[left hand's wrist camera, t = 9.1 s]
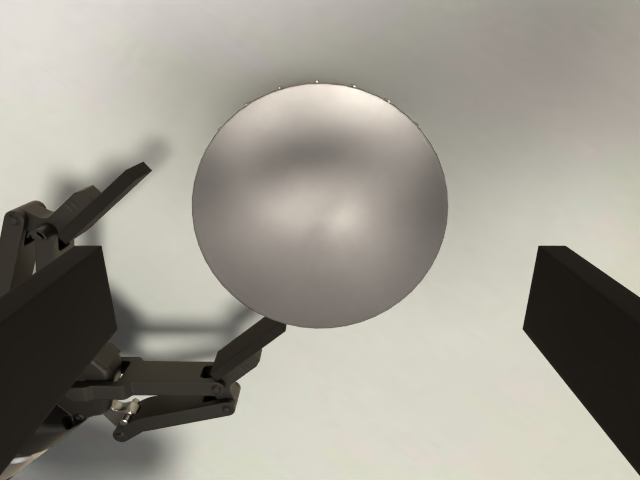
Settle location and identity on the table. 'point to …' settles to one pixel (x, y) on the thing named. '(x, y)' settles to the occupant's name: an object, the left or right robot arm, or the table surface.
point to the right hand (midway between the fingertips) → (216, 247)
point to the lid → (319, 205)
